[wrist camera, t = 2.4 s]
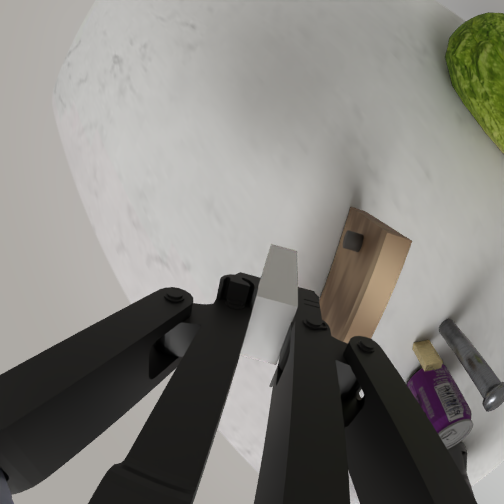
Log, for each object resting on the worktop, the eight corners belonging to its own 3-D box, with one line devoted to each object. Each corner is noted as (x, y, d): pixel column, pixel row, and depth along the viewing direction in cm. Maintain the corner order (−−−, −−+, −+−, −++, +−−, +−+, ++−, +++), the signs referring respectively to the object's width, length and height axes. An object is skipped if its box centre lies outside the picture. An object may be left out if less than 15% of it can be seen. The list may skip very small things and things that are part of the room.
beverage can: (395, 387, 33) (415, 450, 21) (430, 353, 30) (463, 412, 19) (420, 400, 33) (441, 456, 21) (453, 369, 31) (483, 423, 19)
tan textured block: (427, 345, 30) (440, 368, 25) (412, 348, 31) (424, 371, 26) (429, 339, 30) (442, 361, 25) (413, 342, 30) (426, 365, 26)
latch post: (453, 335, 29) (502, 405, 15) (434, 338, 30) (481, 415, 16) (457, 314, 28) (514, 383, 14) (438, 318, 29) (493, 392, 15)
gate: (320, 336, 31) (326, 414, 19) (296, 331, 31) (293, 408, 20) (365, 211, 26) (412, 241, 15) (339, 203, 26) (370, 227, 15)
